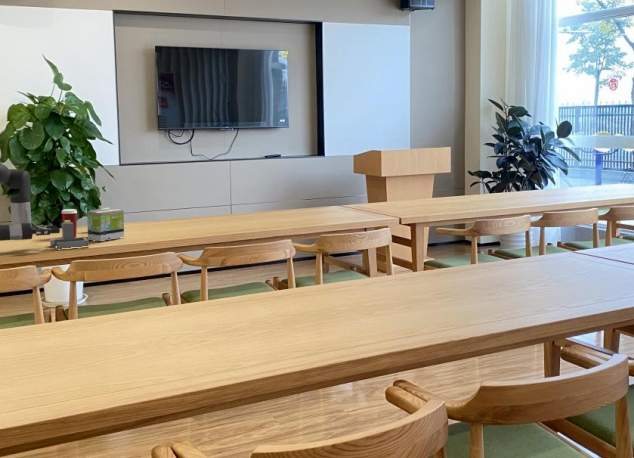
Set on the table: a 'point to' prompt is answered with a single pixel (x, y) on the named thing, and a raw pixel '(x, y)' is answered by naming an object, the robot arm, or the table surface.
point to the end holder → (71, 243)
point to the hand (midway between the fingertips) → (58, 229)
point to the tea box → (105, 224)
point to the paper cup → (70, 218)
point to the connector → (67, 231)
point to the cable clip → (52, 242)
